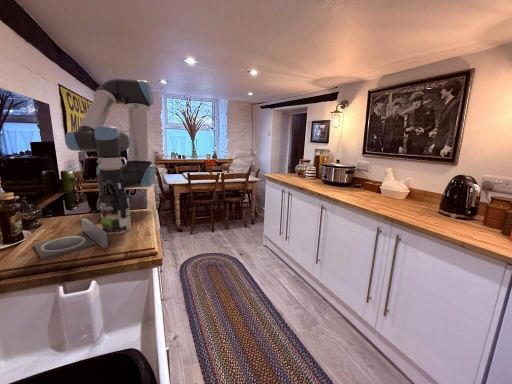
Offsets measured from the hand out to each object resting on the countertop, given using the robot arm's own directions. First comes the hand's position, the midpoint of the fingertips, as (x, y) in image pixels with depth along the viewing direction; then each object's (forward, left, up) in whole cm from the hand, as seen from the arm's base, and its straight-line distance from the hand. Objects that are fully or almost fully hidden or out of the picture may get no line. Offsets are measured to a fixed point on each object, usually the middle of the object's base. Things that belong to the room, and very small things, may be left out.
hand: (116, 221), depth 99 cm
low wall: (+3, -9, -3) cm, 10 cm away
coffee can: (0, 0, -4) cm, 4 cm away
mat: (+3, -18, -3) cm, 19 cm away
